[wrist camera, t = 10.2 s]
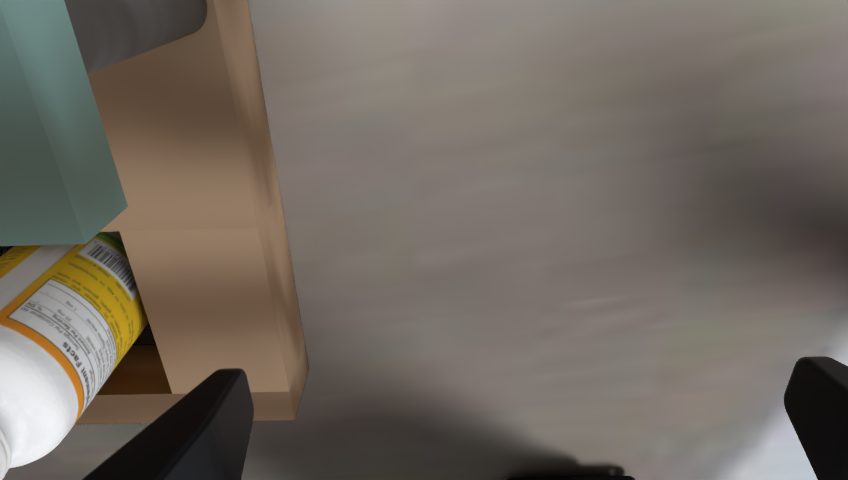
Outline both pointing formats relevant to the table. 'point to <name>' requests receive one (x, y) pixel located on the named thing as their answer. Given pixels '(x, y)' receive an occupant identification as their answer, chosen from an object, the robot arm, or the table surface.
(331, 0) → the table surface
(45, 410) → the supplement bottle
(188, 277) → the socket plate
